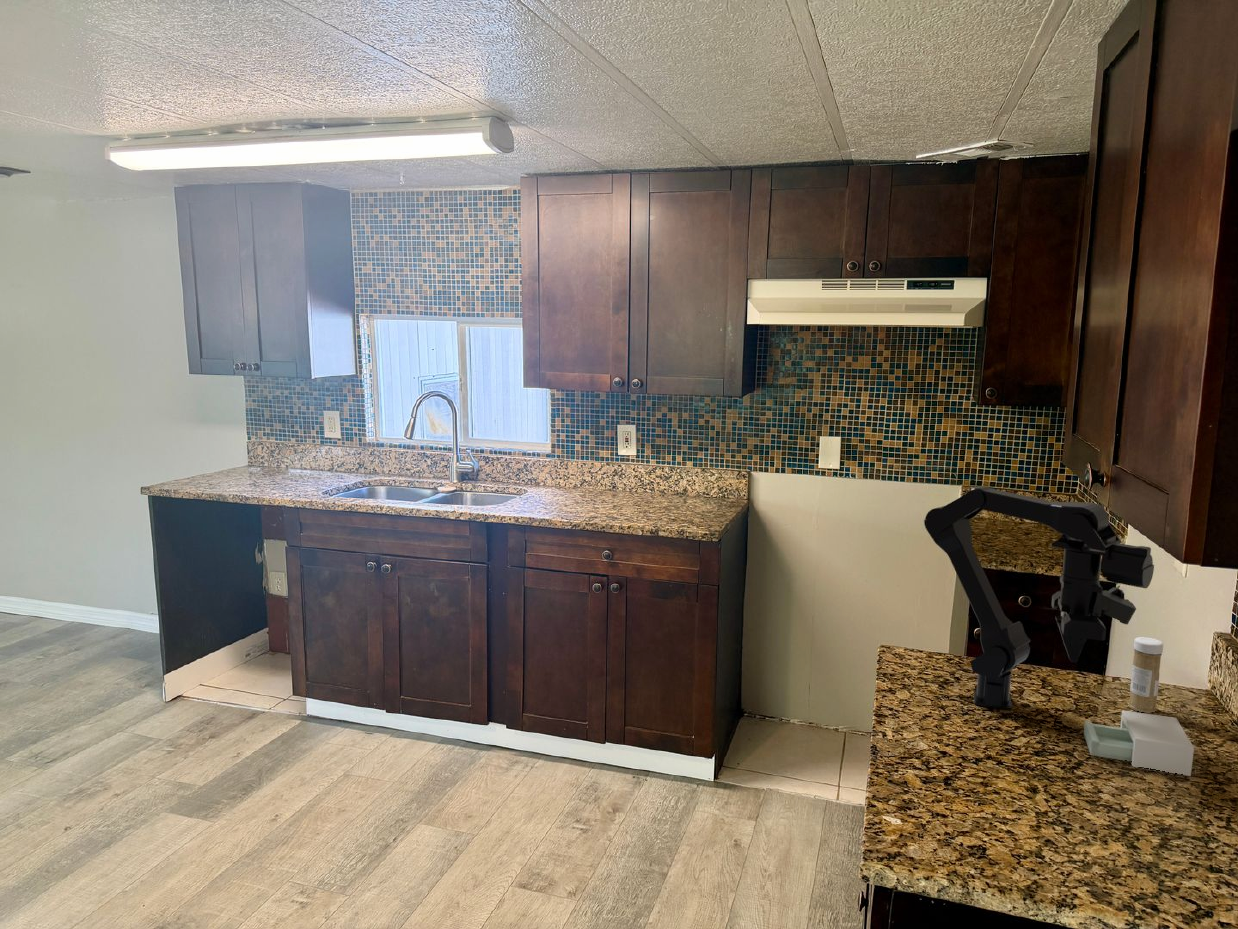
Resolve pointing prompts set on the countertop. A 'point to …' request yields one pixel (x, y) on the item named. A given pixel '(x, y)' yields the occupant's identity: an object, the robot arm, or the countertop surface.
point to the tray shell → (1108, 741)
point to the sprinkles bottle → (1145, 674)
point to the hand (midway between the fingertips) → (1073, 661)
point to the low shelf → (1158, 742)
